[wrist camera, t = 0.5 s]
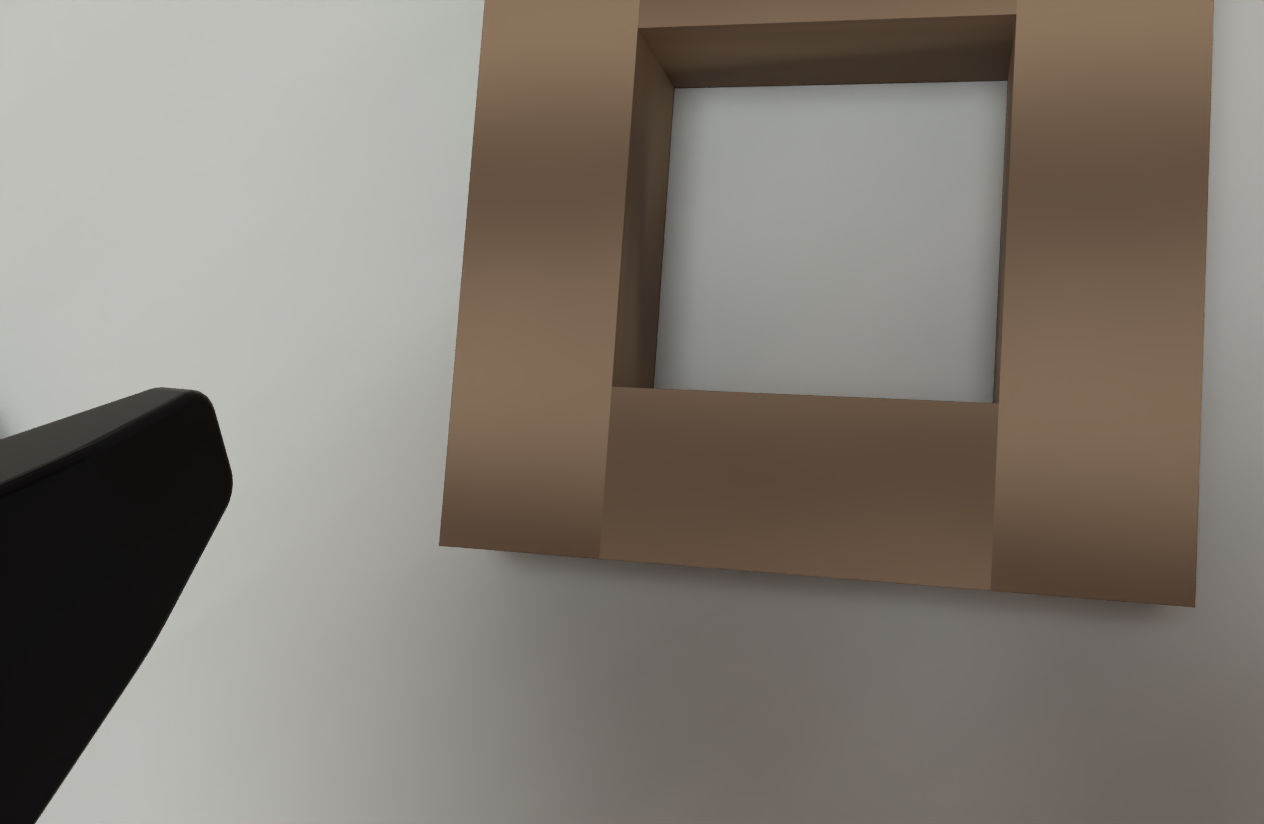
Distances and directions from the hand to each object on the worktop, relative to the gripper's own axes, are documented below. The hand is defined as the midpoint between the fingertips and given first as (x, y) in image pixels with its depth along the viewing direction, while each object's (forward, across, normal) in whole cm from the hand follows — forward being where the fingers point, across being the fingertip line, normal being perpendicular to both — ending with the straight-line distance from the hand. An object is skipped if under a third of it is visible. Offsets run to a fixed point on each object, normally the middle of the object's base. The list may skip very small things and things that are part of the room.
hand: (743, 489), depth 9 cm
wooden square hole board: (+15, +1, +4) cm, 15 cm away
